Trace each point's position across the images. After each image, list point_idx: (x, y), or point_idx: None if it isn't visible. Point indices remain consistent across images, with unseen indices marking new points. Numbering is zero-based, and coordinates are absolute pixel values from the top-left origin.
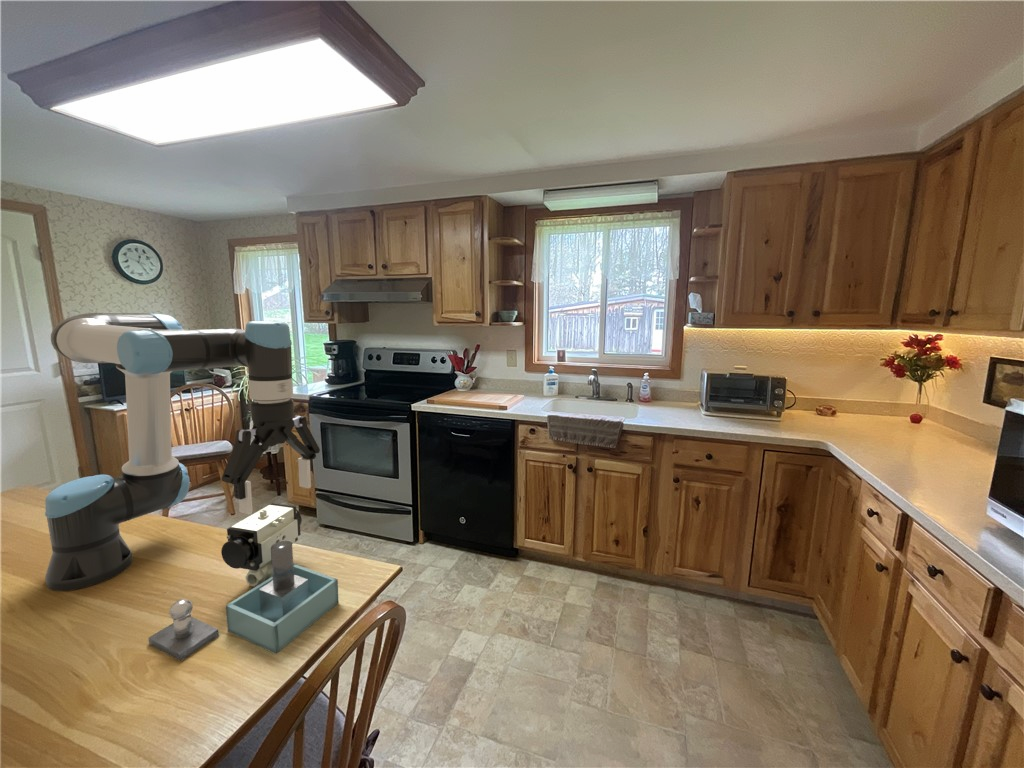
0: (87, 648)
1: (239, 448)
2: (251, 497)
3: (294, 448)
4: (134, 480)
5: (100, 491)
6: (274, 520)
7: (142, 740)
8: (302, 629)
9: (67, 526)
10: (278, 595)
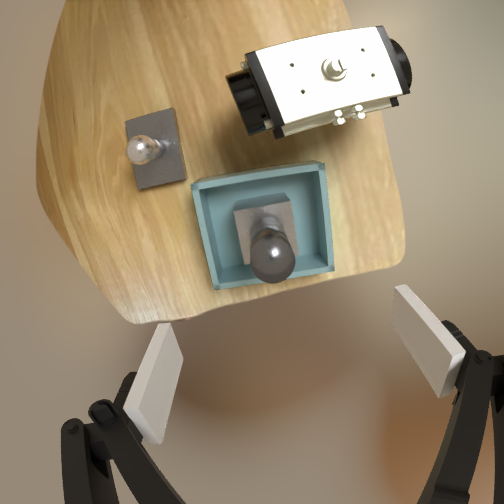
0: (90, 76)
1: None
2: (172, 397)
3: (454, 424)
4: None
5: None
6: (342, 108)
7: (98, 267)
8: None
9: None
10: (245, 254)
